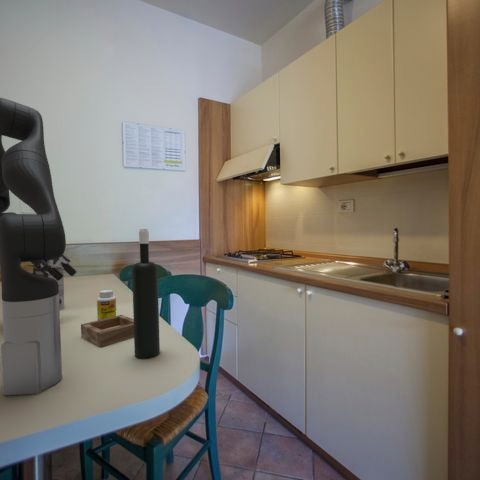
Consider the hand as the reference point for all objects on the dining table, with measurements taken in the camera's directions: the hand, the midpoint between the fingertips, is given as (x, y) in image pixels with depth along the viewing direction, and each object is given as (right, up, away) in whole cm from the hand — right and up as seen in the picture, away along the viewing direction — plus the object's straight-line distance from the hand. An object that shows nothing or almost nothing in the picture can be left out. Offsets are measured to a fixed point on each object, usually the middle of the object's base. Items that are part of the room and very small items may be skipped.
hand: (68, 276), depth 98 cm
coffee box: (-17, -15, +18) cm, 29 cm away
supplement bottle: (+12, -15, +1) cm, 19 cm away
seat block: (+19, -15, -11) cm, 27 cm away
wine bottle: (+33, -16, -24) cm, 44 cm away
